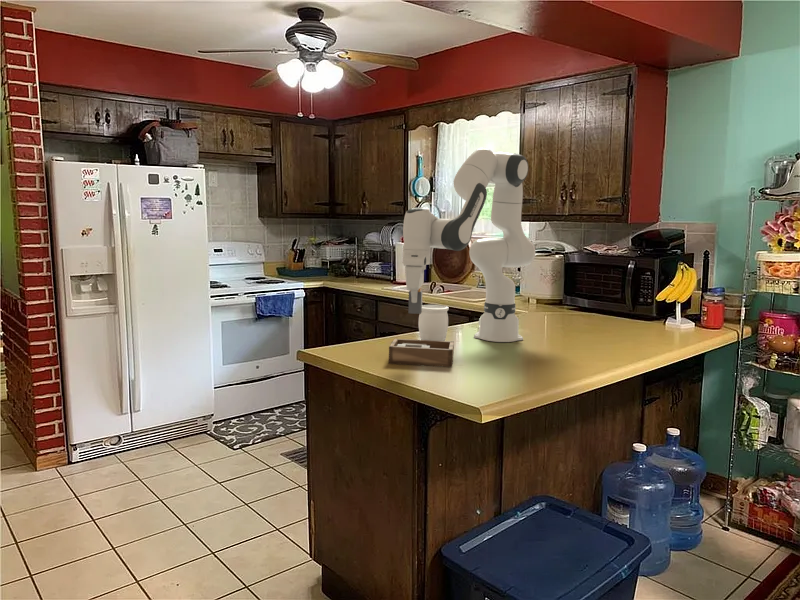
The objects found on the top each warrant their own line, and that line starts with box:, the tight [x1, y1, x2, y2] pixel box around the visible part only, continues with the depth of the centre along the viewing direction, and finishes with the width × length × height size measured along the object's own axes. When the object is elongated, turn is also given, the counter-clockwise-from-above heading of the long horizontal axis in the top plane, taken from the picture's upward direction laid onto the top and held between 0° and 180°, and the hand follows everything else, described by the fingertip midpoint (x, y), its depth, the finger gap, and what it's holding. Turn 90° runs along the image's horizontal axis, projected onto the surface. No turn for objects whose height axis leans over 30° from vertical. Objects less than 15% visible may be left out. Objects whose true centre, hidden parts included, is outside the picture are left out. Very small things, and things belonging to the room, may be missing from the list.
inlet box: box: [388, 338, 455, 368], centre depth 198 cm, size 13×20×6 cm, turn 83°
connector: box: [408, 287, 423, 315], centre depth 195 cm, size 4×4×8 cm
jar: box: [417, 304, 449, 341], centre depth 216 cm, size 11×10×15 cm
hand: (415, 301), depth 195 cm, fingers closed on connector, 4 cm apart
